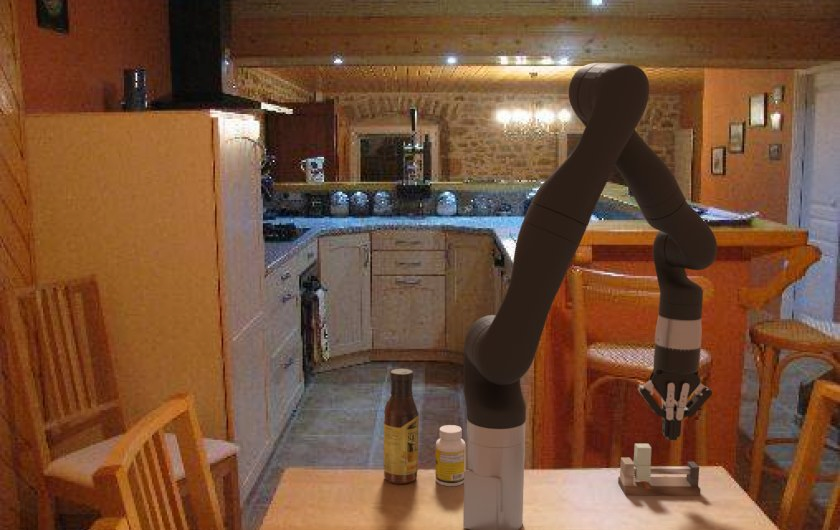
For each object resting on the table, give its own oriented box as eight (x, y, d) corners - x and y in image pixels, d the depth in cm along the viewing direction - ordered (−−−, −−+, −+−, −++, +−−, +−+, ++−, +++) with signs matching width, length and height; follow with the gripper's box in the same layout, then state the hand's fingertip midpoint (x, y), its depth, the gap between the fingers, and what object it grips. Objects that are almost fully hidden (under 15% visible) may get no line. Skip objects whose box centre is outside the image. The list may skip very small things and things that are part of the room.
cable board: (690, 483, 147) (692, 455, 146) (700, 495, 142) (701, 466, 141) (618, 482, 147) (619, 455, 146) (625, 494, 142) (626, 466, 141)
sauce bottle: (414, 487, 144) (414, 378, 141) (379, 483, 145) (379, 375, 142) (421, 472, 150) (422, 367, 147) (388, 469, 152) (388, 365, 149)
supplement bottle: (440, 473, 150) (441, 421, 149) (468, 477, 149) (469, 425, 147) (431, 484, 145) (431, 431, 144) (460, 489, 144) (461, 435, 142)
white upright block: (646, 474, 145) (647, 442, 144) (650, 480, 143) (652, 448, 142) (632, 474, 145) (634, 442, 144) (636, 480, 143) (638, 448, 142)
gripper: (645, 346, 137) (639, 446, 139) (724, 348, 137) (716, 447, 139) (633, 336, 144) (627, 430, 147) (708, 337, 144) (700, 431, 147)
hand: (670, 438), depth 143 cm, fingers closed
